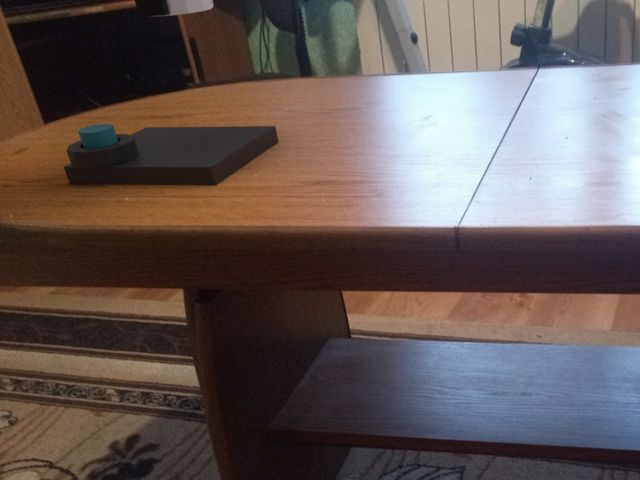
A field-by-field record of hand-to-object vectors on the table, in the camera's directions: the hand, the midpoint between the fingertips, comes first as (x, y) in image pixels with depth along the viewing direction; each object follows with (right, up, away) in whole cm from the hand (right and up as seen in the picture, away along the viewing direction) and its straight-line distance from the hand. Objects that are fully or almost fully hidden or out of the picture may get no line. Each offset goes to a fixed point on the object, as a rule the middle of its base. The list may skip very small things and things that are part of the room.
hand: (178, 8), depth 70 cm
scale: (-2, -13, +6) cm, 15 cm away
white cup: (0, 0, 0) cm, 1 cm away
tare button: (-8, -13, +2) cm, 15 cm away
